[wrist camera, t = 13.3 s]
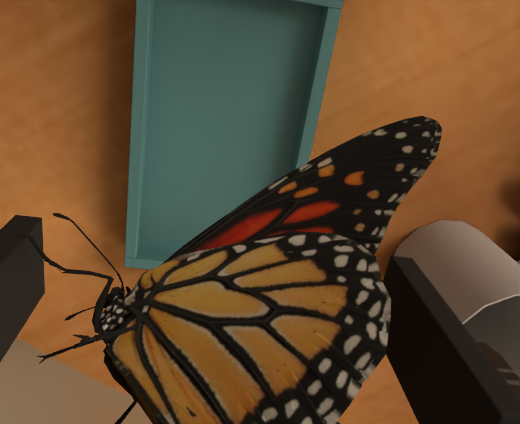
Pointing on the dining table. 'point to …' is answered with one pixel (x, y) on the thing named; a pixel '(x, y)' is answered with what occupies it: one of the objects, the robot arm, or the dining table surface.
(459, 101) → the dining table surface
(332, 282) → the butterfly
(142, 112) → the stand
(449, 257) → the cup
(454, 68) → the dining table surface
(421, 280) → the robot arm
